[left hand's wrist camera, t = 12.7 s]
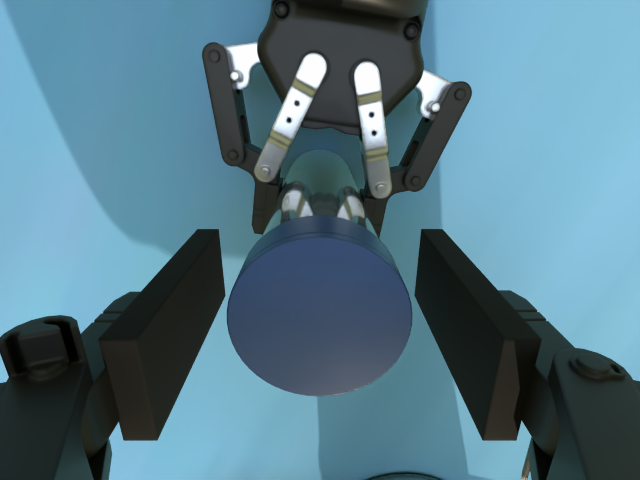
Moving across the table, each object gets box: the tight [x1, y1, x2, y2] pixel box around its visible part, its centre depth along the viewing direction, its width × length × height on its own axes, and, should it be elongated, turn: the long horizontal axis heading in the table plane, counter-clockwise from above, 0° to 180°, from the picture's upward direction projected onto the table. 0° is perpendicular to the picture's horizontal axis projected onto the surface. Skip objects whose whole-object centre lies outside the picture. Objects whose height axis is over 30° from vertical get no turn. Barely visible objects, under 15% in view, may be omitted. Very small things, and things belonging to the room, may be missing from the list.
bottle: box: [262, 149, 377, 237], centre depth 19 cm, size 5×5×18 cm
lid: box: [227, 215, 412, 396], centre depth 11 cm, size 5×5×2 cm
